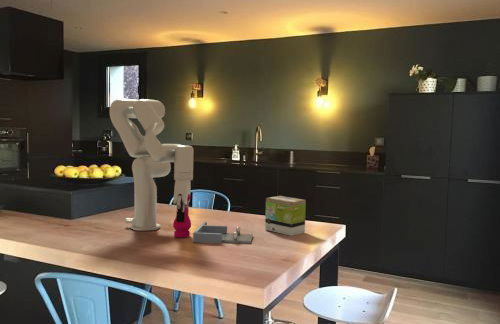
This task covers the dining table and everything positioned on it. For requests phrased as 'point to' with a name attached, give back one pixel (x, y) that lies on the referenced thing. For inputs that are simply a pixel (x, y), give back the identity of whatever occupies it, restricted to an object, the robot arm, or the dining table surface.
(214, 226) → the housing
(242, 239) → the base plate
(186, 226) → the pepper mill
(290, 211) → the tea box
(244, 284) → the dining table surface
